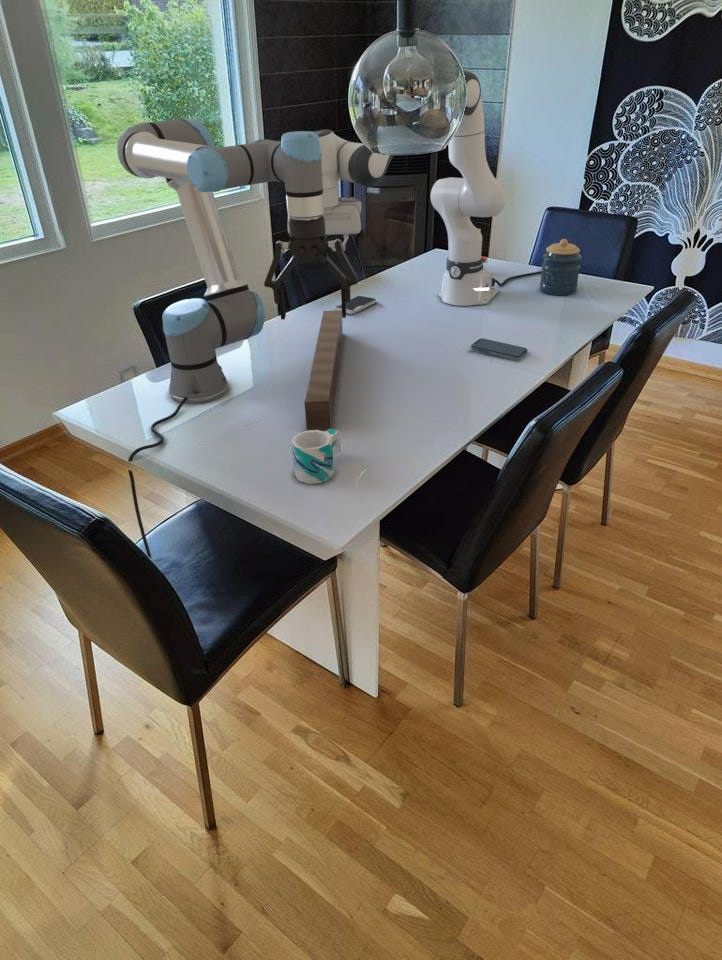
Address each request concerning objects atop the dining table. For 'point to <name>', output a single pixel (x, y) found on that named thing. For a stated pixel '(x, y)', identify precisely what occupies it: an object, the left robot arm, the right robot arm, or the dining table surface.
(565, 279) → the canister
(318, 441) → the mug
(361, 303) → the smartphone
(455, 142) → the right robot arm
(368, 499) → the dining table surface
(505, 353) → the smartphone
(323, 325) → the beam
